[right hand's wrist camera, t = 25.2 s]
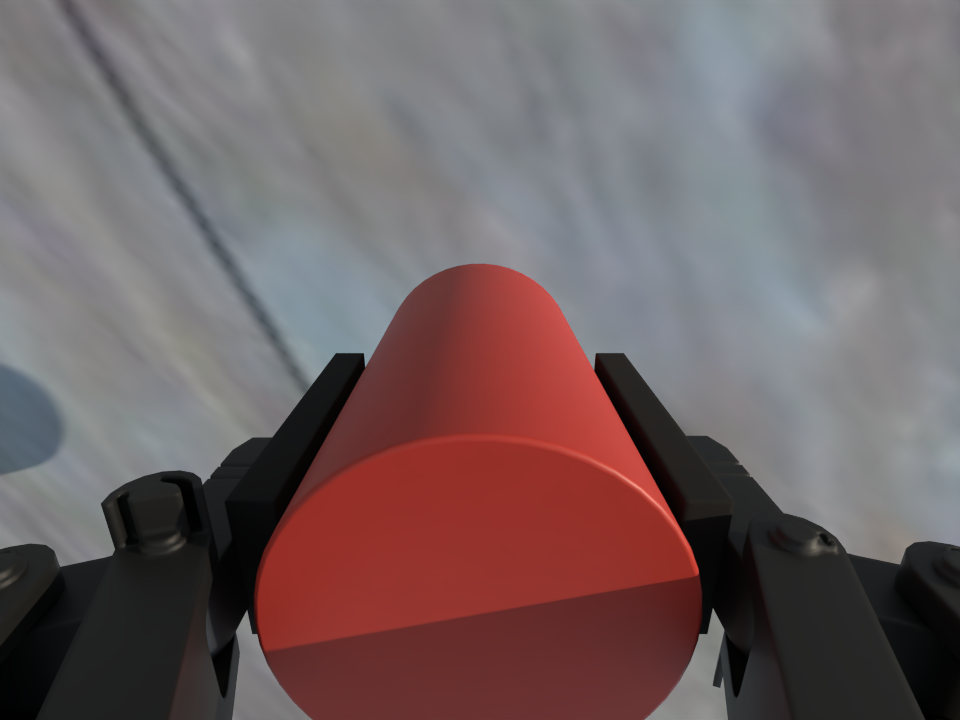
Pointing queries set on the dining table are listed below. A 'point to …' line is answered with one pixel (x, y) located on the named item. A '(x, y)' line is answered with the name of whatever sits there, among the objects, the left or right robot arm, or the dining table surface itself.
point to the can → (478, 531)
